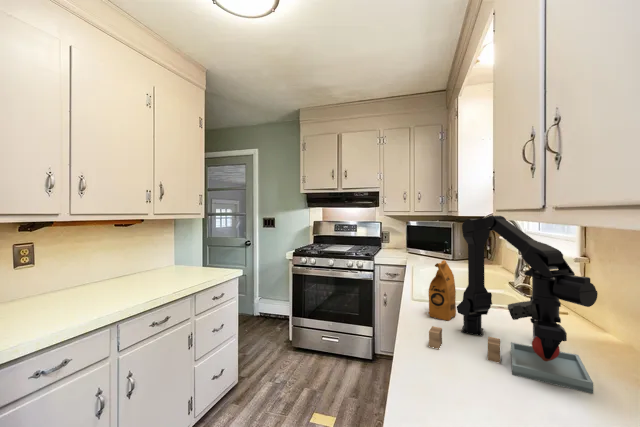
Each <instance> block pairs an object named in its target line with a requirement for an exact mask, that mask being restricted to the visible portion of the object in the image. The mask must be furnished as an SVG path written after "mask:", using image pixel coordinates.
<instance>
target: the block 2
mask: <svg viewBox="0 0 640 427" xmlns="http://www.w3.org/2000/svg"><path fill="white" fill-rule="evenodd" d="M487 361H488V362H489V361H490V362H492V363H493V362H494V363H499V364H501V338H500V337H499V338H498V337H492V336H488V338H487Z"/></svg>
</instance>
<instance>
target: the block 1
mask: <svg viewBox="0 0 640 427" xmlns="http://www.w3.org/2000/svg"><path fill="white" fill-rule="evenodd" d="M441 344H442V345H443V328H442V327H439V326H434V325H432V326H431V327H430V329H429V331H428V347H429V346H430V347H434V348H433V349H435V348H438V349H437V350H440V349H441V347H442V345H441ZM440 346H441V347H440ZM430 347H429V348H430ZM439 348H440V349H439Z"/></svg>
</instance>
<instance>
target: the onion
mask: <svg viewBox="0 0 640 427" xmlns="http://www.w3.org/2000/svg"><path fill="white" fill-rule="evenodd" d="M531 346H532V348H533V350H534V352H535V353H536V354H537V355H538V356H539V357H541V358H542V360H544V361H550V360H553V359H555V358H556V357H558V355H559V353H560V352H561V351H560V350H561V349H560V345H559V346H558V347H557V349H556V350H555V352H554V354H553V355H552V357H551V358H550V359H546V358H545V357H544V352H543V348H542V344H541V339H540V338H539V337H537V336H536V337H535V338H534V339H533V340H532V341H531Z"/></svg>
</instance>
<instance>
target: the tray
mask: <svg viewBox="0 0 640 427" xmlns="http://www.w3.org/2000/svg"><path fill="white" fill-rule="evenodd" d="M510 357H511V358H510V359H511V372H512V373H511V374H512V375H513V376H515V377H516V376H518V377H520V378H524V379H530V380H533V381H537V382H542V383H546V384H550V385H553V386H559V387H564V388H567V389H571V390H575V391H579V392H584V393H588V394H594V382H593V380H592V378H591V376H590V374H589V372H588V370H587V369H586V367H585V364H584V363H583V361H582V360H581V357H580V355H579V354H575V353H569V352H565V351H560V353H559V355H558V357H556V358H555V359H553V360H550V361H544V360H542V358H541V357H539V356H538V355H537V354H536V353H535V352H534V350H533V348H532V345H527V344H522V343H517V342H512V341H511V342H510Z"/></svg>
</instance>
